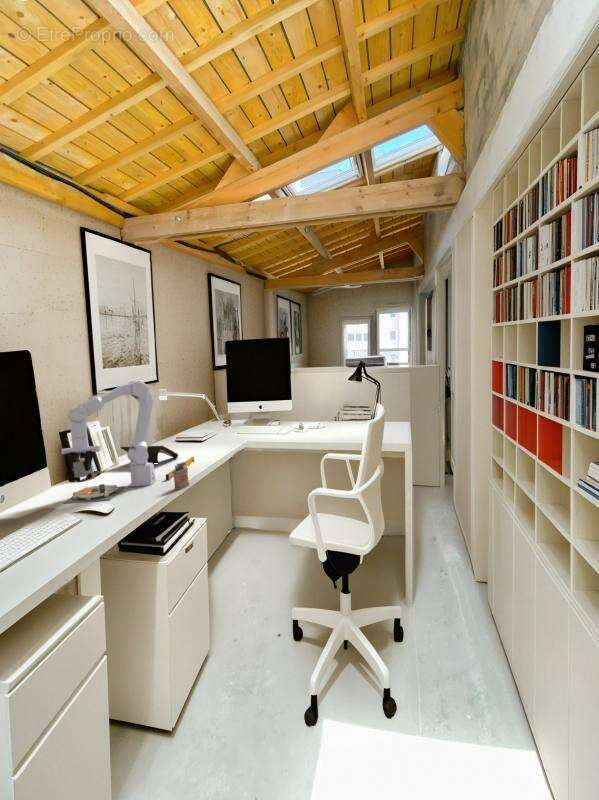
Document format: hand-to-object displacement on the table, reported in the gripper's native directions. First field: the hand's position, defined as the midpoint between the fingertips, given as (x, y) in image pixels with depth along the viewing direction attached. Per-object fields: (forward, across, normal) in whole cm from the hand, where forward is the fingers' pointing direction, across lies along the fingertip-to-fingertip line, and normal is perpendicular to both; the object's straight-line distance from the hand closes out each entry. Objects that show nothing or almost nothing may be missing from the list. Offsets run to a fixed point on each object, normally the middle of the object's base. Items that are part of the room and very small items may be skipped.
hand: (83, 470), depth 182 cm
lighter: (+11, +38, +2) cm, 39 cm away
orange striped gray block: (+2, 0, 0) cm, 2 cm away
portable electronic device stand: (+11, +11, +54) cm, 57 cm away
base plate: (+10, +4, 0) cm, 11 cm away
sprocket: (+10, +4, 0) cm, 11 cm away
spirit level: (+11, +31, +31) cm, 45 cm away
